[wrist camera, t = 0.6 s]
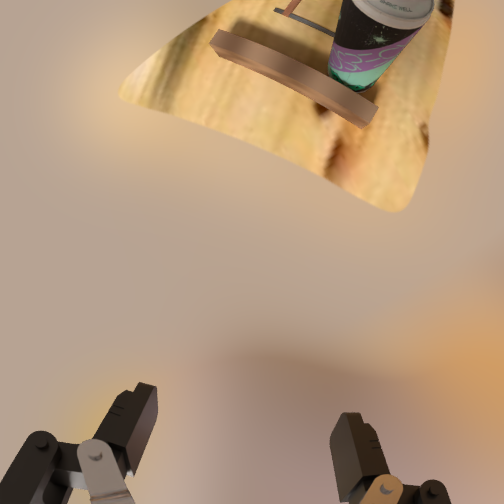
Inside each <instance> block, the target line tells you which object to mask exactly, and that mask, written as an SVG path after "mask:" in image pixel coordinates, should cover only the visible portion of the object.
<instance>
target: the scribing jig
mask: <svg viewBox="0 0 504 504" xmlns="http://www.w3.org/2000/svg"><path fill="white" fill-rule="evenodd" d="M300 1H301V0H292V1H291V2H290V4H289V5H288V6H287V8H286V9H285V10H284V11H283V10H281V9H278V8H275V9H274V11H275V12H277V13H280V14H282V15H284V16H287V17H290V18H293V19H295V20H298V21H300V22H302V23H305V24H307V25H309V26H311V27H313V28H316V29H318V30H320V31H322V32H324V33H326V34H328V35H330V36H332V37H335V33H333V32H331V31H329V30H327V29H325V28H323V27H321V26H319V25H317V24H314V23H312V22H310V21H308V20H305V19H303V18H301V17H298V16H296V15H293V14H291V13H292V12H293V10H294V9H295V8H296V6H297V5H298V4H299V2H300ZM209 44H210V45H211V47H212V48H213V49H214V50H215V52H216V53H217V54H218V56H219V57H222V58H225V59H227V60H230V61H232V62H234V63H237V64H239V65H242V66H244V67H246V68H249V69H251V70H253V71H255V72H258V73H260V74H262V75H264V76H266V77H269V78H271V79H273V80H275V81H277V82H279V83H281V84H283V85H285V86H287V87H289V88H291V89H293V90H295V91H297V92H299V93H301V94H303V95H304V96H306V97H308V98H310V99H312V100H314V101H315V102H317V103H319V104H321V105H323V106H324V107H326V108H328V109H330V110H331V111H333V112H335V113H336V114H338V115H340V116H341V117H343V118H345V119H346V120H348V121H349V122H351V123H353V124H354V125H356V126H357V127H359V128H360V129H362V128H364V127H365V126H367V125H368V124H369V123H370V122H371V120H372V118H373V117H374V115H375V113H376V111H377V110H378V108H379V107H378V106H376V105H375V104H373V103H372V102H370V101H369V100H367V99H365V98H364V97H362V96H361V95H359V94H357V93H356V92H354V91H352V90H351V89H349V88H347V87H346V86H344V85H342V84H340V83H339V82H337V81H335V80H333V79H332V78H330V77H328V76H326V75H324V74H322V73H320V72H319V71H317V70H315V69H313V68H311V67H309V66H307V65H305V64H303V63H301V62H299V61H297V60H295V59H293V58H290V57H288V56H286V55H284V54H282V53H279V52H277V51H275V50H273V49H270V48H268V47H266V46H263V45H261V44H258V43H256V42H253V41H251V40H248V39H245V38H243V37H240V36H237V35H235V34H232V33H229V32H226V31H223V30H220V29H219V30H218V31H217V32H216V34H215V35H214V37H213V38H212V40H211V41H210V43H209Z"/></svg>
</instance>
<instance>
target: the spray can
mask: <svg viewBox="0 0 504 504" xmlns="http://www.w3.org/2000/svg"><path fill="white" fill-rule="evenodd" d="M433 9H434V0H343V2H342V7H341V11H340V15H339V20H338V24H337V28H336V32H335V37H334V41H333V45H332V49H331V53H330V57H329V62H328V74H329V77H330V78H332V79H333V80H335V81H337V82H339V83H340V84H342V85H344V86H346V87H347V88H349V89H351V90H352V91H354V92H356V93H362V92H365V91H367V90H368V89H370V88H371V87H372V86H373V85H374V83H375V82H376V81H377V80H378V79H379V77H380V76H381V75H382V74H383V73H384V71H385V70H386V69H387V68H388V67H389V65H390V64H391V63H392V62H393V61H394V59H395V58H396V57H397V56H398V55H399V54H400V52H401V51H402V50H403V49H404V48H405V46H406V45H407V44H408V43H409V42H410V41H411V39H412V38H413V37H414V36H415V35H416V33H417V32H418V31H419V30H420V29H421V28H422V26H423V25H424V24H425V23H426V22H427V21H428V19H429V17H430V15H431V13H432V11H433Z"/></svg>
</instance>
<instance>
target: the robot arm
mask: <svg viewBox="0 0 504 504" xmlns="http://www.w3.org/2000/svg"><path fill="white" fill-rule="evenodd" d="M157 414H158V401H157V388H156V386H152V385H149V384H145V383H141V382H139V383H138V385H137V386H136V388H135V390H134V392H131V391H128V390H125V391H124V392H122V393H121V394H119V395H118V396H117V397H116V399H115V401H114V403H113V404H112V406H111V408H110V409H109V411H108V413H107V415H106V416H105V418H104V419H103V421H102V423H101V424H100V426H99V428H98V430H97V432H96V433H95V435H94V437H93V438H92V439H89V440H86V441H84V442H82V443H81V444H70V443H64V442H58V441H57V440H56V438H55V437H54V436H53V435H52V434H51V433H49V432H46V431H36V432H33V433H32V434H30V435H29V436H28V438H27V439H26V441H25V443H24V444H23V446H22V448H21V449H20V451H19V452H18V454H17V456H16V457H15V459H14V461H13V462H12V464H11V465H10V467H9V469H8V471H7V472H6V474H5V476H4V477H3V479H2V481H1V483H0V504H67V503H68V500H69V497H70V495H71V493H72V490H73V488H78V489H84V490H88V491H89V494H90V501H91V504H135V502H134V500H133V498H132V496H131V494H130V492H129V490H128V488H127V486H126V484H125V482H124V479H125V477H126V475H128V476H131V477H134V475H135V473H136V470H137V468H138V465H139V462H140V460H141V458H142V455H143V452H144V450H145V447H146V445H147V442H148V440H149V437H150V435H151V432H152V430H153V427H154V425H155V422H156V419H157ZM330 449H331V455H332V460H333V465H334V471H335V476H336V482H337V487H338V493H339V499H340V502H349V504H451V502H450V499H449V496H448V493H447V490H446V488H445V486H444V485H443V483H441V482H440V481H437V480H428V481H426V482H424V483H423V484H422V485H421V486H413V485H404V484H402V482H401V481H400V480H399V479H398V478H397V477H395V476H393V475H391V474H390V472H389V469H388V466H387V463H386V460H385V457H384V454H383V451H382V449H381V445H380V442H379V439H378V436H377V434H376V431H375V430H374V429H373V428H372V427H371V425H370V424H368V423H364V422H363V419H362V417H361V414H360V413H342V414H341V416H340V418H339V420H338V422H337V424H336V426H335V428H334V430H333V431H332V434H331V436H330Z"/></svg>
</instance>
